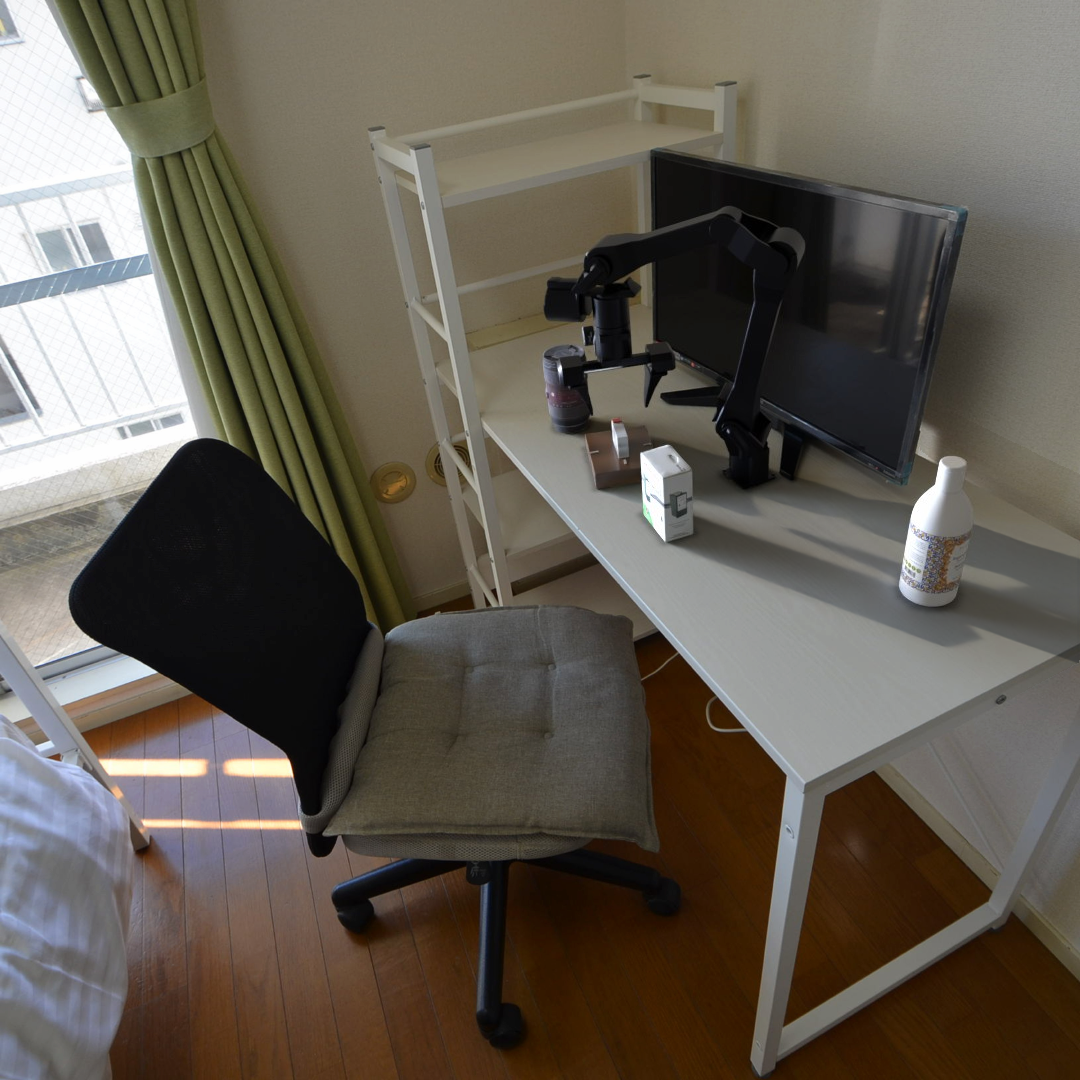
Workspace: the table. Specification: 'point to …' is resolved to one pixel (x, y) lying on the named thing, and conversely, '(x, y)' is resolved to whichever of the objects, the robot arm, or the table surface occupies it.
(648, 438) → the brown flat block
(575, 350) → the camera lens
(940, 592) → the bath foam
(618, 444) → the small grey box
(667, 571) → the table surface
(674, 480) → the ink box
